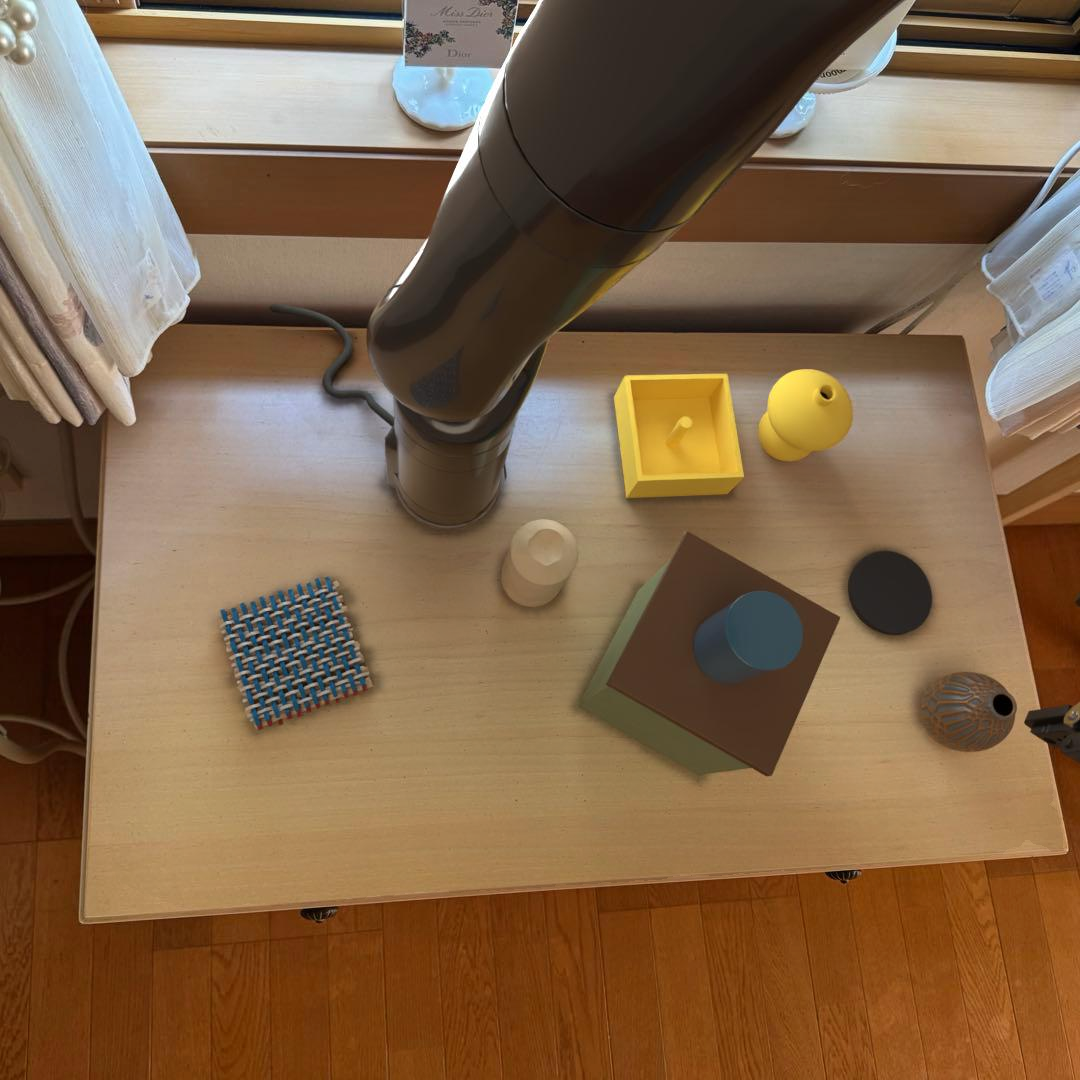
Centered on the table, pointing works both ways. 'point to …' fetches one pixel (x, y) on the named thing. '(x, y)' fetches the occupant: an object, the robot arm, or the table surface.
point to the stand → (683, 688)
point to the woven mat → (293, 653)
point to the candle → (538, 562)
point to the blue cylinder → (748, 638)
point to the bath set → (718, 429)
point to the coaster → (890, 593)
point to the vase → (968, 711)
